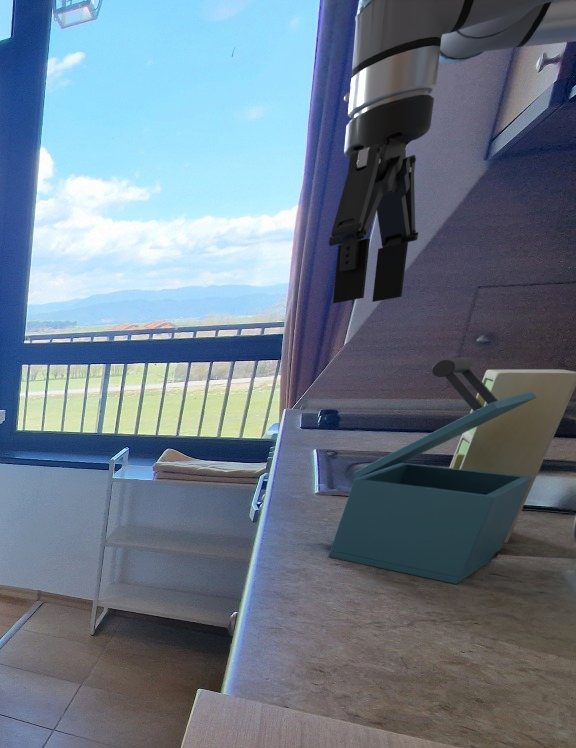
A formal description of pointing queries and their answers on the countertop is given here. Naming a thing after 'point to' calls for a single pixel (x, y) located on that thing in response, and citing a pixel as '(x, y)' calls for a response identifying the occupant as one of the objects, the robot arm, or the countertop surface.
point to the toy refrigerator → (517, 425)
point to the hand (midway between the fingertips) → (368, 300)
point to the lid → (459, 426)
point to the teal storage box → (428, 519)
